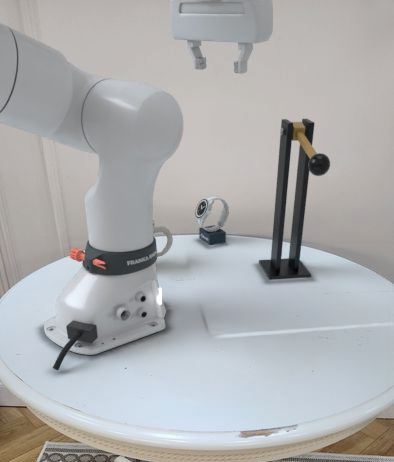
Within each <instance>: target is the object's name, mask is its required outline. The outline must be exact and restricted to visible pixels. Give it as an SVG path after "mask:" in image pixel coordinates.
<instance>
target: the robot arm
mask: <svg viewBox="0 0 394 462" xmlns="http://www.w3.org/2000/svg"><path fill="white" fill-rule="evenodd" d="M169 29H170V30H169V31H170V34H171V36H172V38H173V40H176V41H177V40H178V41H186V46H187V50H188V51H189V54H190V56H191V58H192V60H193V61H192V62H193V69H194V70H199V71H202V70H206V69H207V57H206V56H203V53H202V50H201V46H202V42H216V43H236V44H237V49H238V51H240V53H239V56H238V58H237V60H234V61H233V72H234V74H241V75H242V74H247V72H248V61H249V59H250V56H251V55H252V52H253V50H254V44H261V43H266V42H268V41H269V39H270V38H271V36H272V34H273V31H274V6H273V0H169ZM0 124H2V125H6V126H9V127H12V128H15V129H18V130H20V131H24V132H27V133H31V134H33V135H37V136H39V137H42V138H44V139H48V140H50V141H52V142H55V143H58V144H60V145H64V146H66V147H69V148H71V149H75V150H78V151H80V152H85V153H88V154H89V153H90V154H92V155H97V156H98V171H97V177H96V181H95V184H93V185H91V187H90V188H89V189H88V190H87V191H86V193H85V195H84V210H85V219H86V228H87V229H86V230H87V237H88V240H87V242H86V245H85V249H84V250H82V249H79V248H77V247H72V248H71V249H70V252H68V253H69V259H71V260H73V261H76V262H78V263H81V262H82V263H81V264H82V266H81V267H80V268H79V270H78V271H77V272H76V273H75V274H74V276H73V277H72V278H71V279H70V280H69V281H68V283H67V284H66V285H65V286H64V288H63V289H62V290H61V291H60V293H58V295H57V297H56V300H55V316H54V317H52V318H50V319H49V320H47V321H46V322H44V325H43V330H44V334H45V335H46V337H47V338H48V339H49V340H50V341H51V342H53V343H54V344H56V345H57V346H59V347H61V348H62V349H61V351H60V352H59V354H58V355H57V357H56V359H55V361H54V364H53V366H52V369H54V370H56V371H59V370H60V367H61V365H62V363H63V362H64V359H65V358H66V356H67V355H68V353H69V351H70V352H72V353H76V354H81V355H86V356H94V355H98V354H100V353H103V352H105V351H109V350H112V349H114V348H116V347H119V346H122V345H125V344H129V343H131V342H133V341H136V340H140V339H141V338H144V337H147V336H150V335H153V334H155V333H158V332H161V331H163V330H165V329H166V328H167V327H166V320H165V317H166V314H167V308H166V306H165V303H164V300H163V297H162V287H160V285H159V284H160V283H159V278H158V274H157V265H156V262H157V260H158V257H157V253H158V248H157V239H156V237H155V236H153V220H154V208H153V207H154V202H153V201H154V192H155V188H156V187H155V186H156V182H157V179H158V176H159V173H160V171H161V168H162V167H163V165H164V164H165V163H166V162H167V161H168V160H169V159H170V158H172V157H173V156H174V154H175V153H176V152H177V151H178V148H179V146H180V144H181V142H182V139H183V135H184V116H183V111H182V108H181V106H180V104H179V102H178V101H177V99H176V98H175V97H174V96H173V95H172V94H170V93H169V92H167V91H165V90H163V89H161V88H159V87H156V86H154V85H152V84H149V83H148V82H142V81H135V80H126V79H115V78H111V77H110V78H109V77H105V76H100V75H96V74H92V73H89V72H86V71H84V70H82V69H80V68H79V67H77V66H75V65H74V64H72V63H71V62H70V61H68V60H67V57H66V56H65V55H64V54H63V53H62V52H61V51H60V50H59V49H56V48H54V47H52V46H50V45H47V44H46V43H44V42H41V41H39V40H38V39H36V38H33V37H32V36H29V35H27V34H25V33H23V32H21V31H19V30H16V29H14V28H13V27H10V26H8V25H6V24H4V23H2V22H0Z"/></svg>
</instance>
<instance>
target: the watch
mask: <svg viewBox="0 0 394 462" xmlns="http://www.w3.org/2000/svg"><path fill="white" fill-rule="evenodd" d="M218 200H219V201H221V203H222V205H223V207H222V210H221V213H220V215H219V217H218V219H217V220H216V224H213V225H208V226H205V225H204V223H205V221H206V219H208V217H209V216H210V215H211V214H212V208H213V205H214V203H215V201H218ZM229 214H230V209H229V204H228V203H227V201H226V200H225V199H223V198H221V197H219V196H217V195H209V196H206V197H205V198H202V199H200V201H199V202H198V203H197V205H196V207H195V210H194V215H195V220H196V222H197V224H198V225H199V227H198V233H199V234H198V236H199V237H198V238H199V239H200V240H201V241H203V242H204V243H206V244H207V245H209V246H213V245H218V244H224V243H226V241H227V239H226V238H227V231H225V230H223V229H222V228H223V227H224V226H225V224H226V222H227V220H228V218H229Z"/></svg>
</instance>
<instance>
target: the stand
mask: <svg viewBox="0 0 394 462" xmlns="http://www.w3.org/2000/svg"><path fill="white" fill-rule="evenodd" d="M292 122H293V121H290V120H288V118H282V119H281V123H280V130H279V131H280V132H279V133H280V136H279V149H278V162H277V172H276V173H277V174H276V175H277V177H276V189H275V199H274V212H273V213H274V214H273V227H272V238H271V249H270V250H271V251H270V252H271V253H270V259H259V260H258V264H259V266H260V268H261V269H262V271H263V272H264V274H265V276H266V277H267V279H268V281H269V280H270V281H271V280H286V279H301V278H303V279H305V278H311V277H312V274H311V272H310V271H309V269H308V268H307V267H306V265H305V264H304V263H303V262H302V260H301V251H302V244H303V243H302V242H303V235H304V233H303V232H304V224H305V223H304V222H305V214H306V205H307V197H308V196H307V195H308V186H309V179H310V170H309V167H308V163H309V160H310V158H309V157H308V155H307V154H306V152H305V150H304V149H303V147H302V146H301V144H300V143H299V149H298V160H297V167H296V168H297V170H296V178H295V179H296V180H295V190H294V200H293V201H294V202H293V211H292V212H293V213H292V221H291V231H290V240H289V241H290V242H289V251H288V257H287V258H282V257H283V256H282V255H283V245H284V233H285V232H284V231H285V222H286V221H285V220H286V208H287V199H288V186H289V176H290V165H291V164H290V163H291V154H292V153H291V152H292V143H293V141H292V132H293V123H292ZM301 122H302V123H303V125H304V126H305V127H306V128H305V134H304V135H305V136H306V138H307V139H308V141H309V142H310V144H311V145H312V146H313V140H314V131H315V121H313V120H310V119H309V118H302V119H301Z"/></svg>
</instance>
